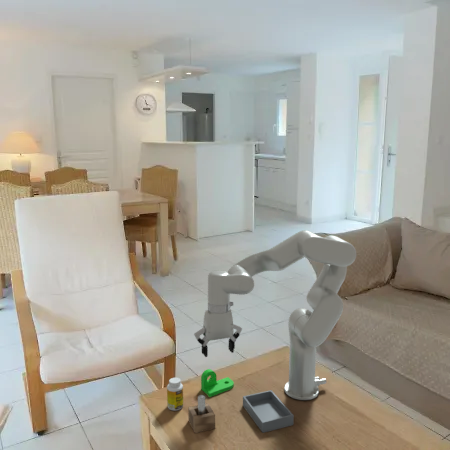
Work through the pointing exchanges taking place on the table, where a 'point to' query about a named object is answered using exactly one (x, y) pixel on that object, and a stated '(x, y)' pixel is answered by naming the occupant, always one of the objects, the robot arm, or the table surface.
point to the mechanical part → (214, 383)
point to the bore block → (201, 419)
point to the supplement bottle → (175, 394)
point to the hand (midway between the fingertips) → (218, 353)
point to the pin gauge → (201, 405)
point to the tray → (267, 411)
